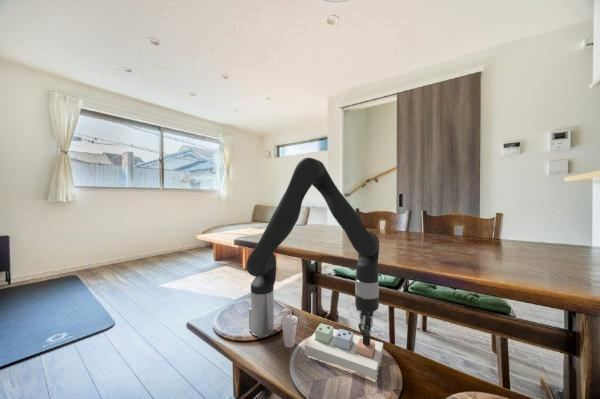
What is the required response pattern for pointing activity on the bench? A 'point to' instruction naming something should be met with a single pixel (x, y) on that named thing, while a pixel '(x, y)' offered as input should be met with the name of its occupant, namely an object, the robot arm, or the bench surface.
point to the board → (346, 355)
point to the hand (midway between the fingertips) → (366, 343)
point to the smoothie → (289, 329)
